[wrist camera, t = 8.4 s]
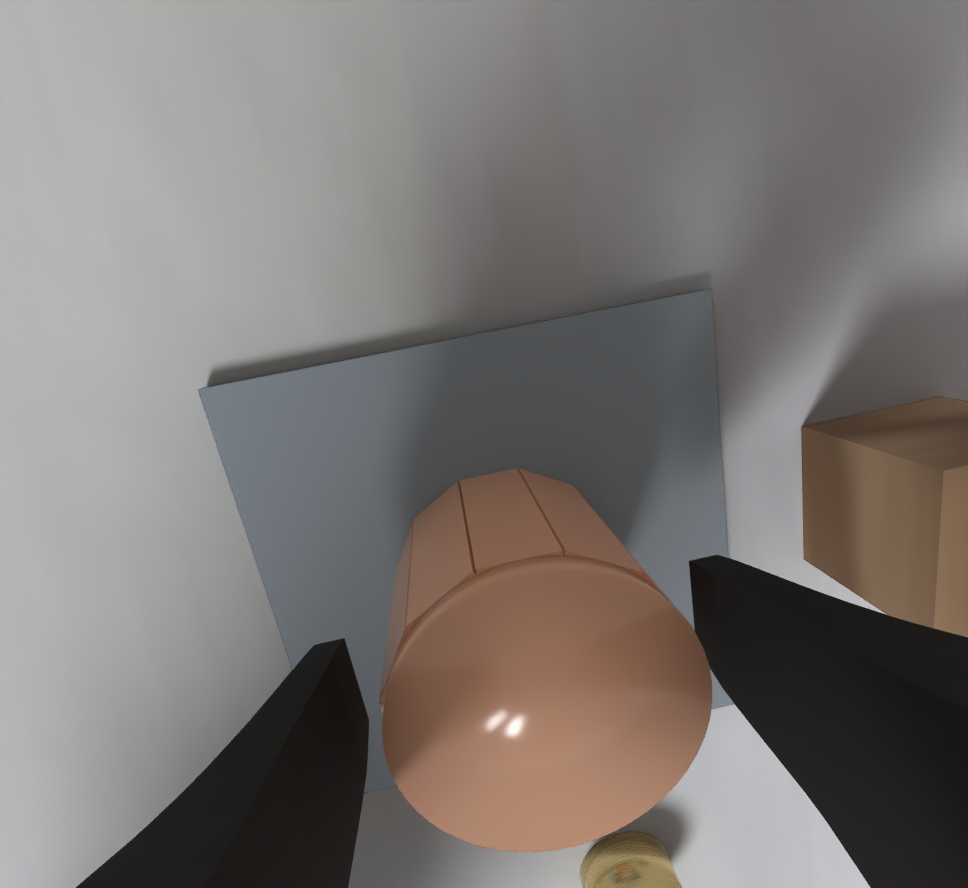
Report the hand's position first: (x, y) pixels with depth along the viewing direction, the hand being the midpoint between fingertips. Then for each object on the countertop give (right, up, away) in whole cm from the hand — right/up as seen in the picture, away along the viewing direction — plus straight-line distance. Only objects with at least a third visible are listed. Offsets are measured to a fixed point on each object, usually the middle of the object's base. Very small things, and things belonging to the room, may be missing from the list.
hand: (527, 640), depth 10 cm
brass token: (+4, -10, +7) cm, 13 cm away
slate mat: (0, +1, +3) cm, 3 cm away
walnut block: (+10, +3, +4) cm, 11 cm away
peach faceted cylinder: (0, +1, +3) cm, 3 cm away
